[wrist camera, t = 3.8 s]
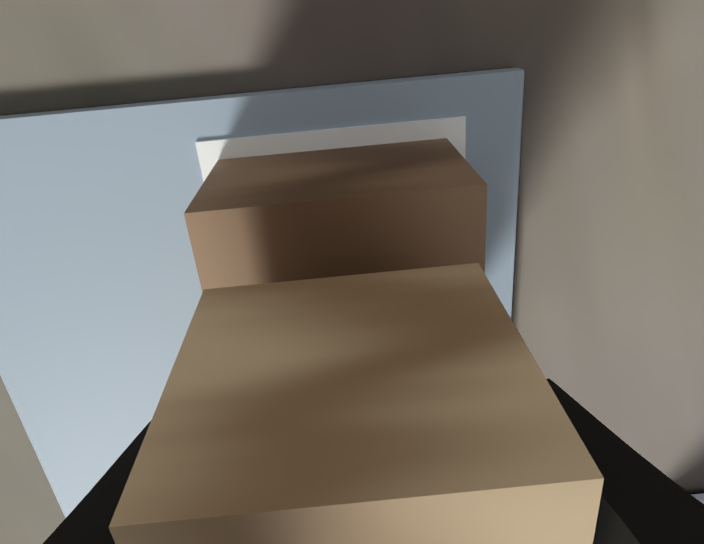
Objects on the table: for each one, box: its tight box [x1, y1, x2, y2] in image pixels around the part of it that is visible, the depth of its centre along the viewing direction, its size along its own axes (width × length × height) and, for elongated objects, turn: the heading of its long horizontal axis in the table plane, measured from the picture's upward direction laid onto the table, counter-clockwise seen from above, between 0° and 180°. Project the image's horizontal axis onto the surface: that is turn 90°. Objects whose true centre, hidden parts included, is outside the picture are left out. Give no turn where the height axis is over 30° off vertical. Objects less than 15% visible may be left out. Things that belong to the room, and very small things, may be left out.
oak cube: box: [109, 263, 604, 544], centre depth 9 cm, size 5×5×5 cm
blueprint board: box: [0, 67, 525, 518], centre depth 17 cm, size 16×15×1 cm
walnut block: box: [184, 138, 487, 293], centre depth 14 cm, size 6×6×4 cm
